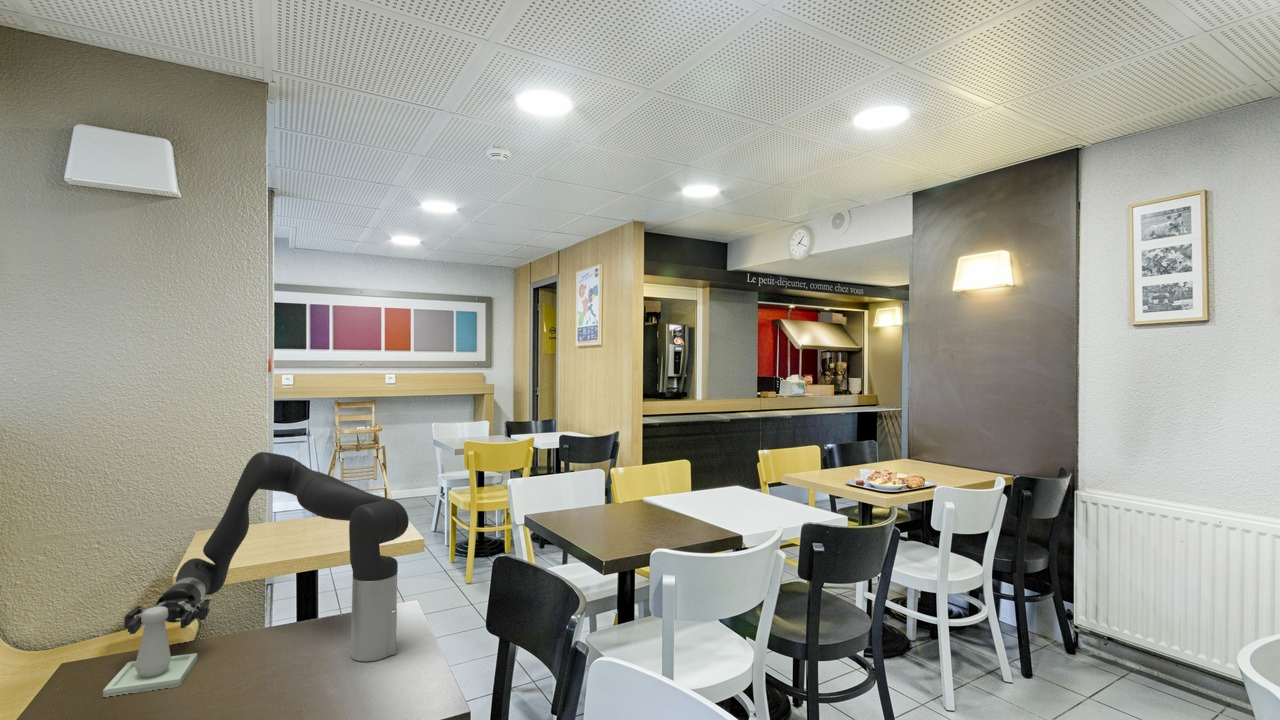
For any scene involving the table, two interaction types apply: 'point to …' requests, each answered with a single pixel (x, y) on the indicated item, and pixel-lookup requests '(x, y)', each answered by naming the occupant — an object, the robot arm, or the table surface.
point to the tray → (134, 683)
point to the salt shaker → (153, 644)
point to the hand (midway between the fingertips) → (157, 626)
